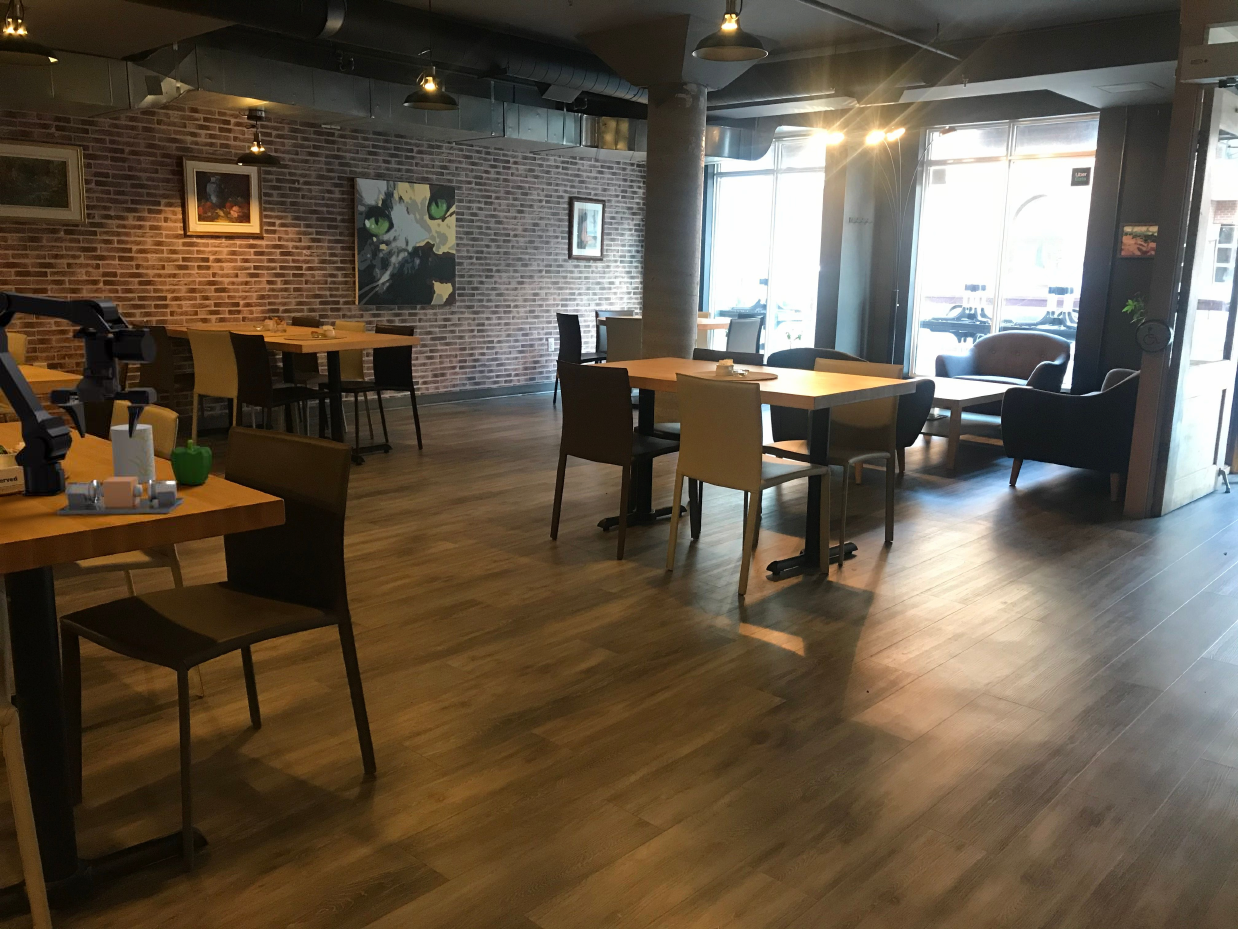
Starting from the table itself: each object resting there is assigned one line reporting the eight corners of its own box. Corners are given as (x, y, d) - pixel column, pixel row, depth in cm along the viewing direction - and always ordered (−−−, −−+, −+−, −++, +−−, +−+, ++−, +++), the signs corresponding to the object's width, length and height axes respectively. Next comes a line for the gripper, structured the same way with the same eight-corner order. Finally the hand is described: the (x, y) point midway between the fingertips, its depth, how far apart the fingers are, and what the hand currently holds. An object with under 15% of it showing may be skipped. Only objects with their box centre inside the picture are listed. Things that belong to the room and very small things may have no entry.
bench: (57, 514, 184) (55, 485, 183) (77, 502, 193) (75, 474, 192) (169, 513, 187) (167, 484, 186) (183, 501, 197) (182, 474, 196)
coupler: (145, 501, 193) (143, 476, 192) (137, 506, 188) (135, 481, 188) (107, 501, 192) (105, 476, 191) (99, 506, 187) (97, 481, 186)
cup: (139, 485, 211) (135, 430, 208) (106, 482, 212) (102, 428, 210) (163, 477, 219) (159, 425, 216) (131, 475, 220) (127, 423, 218)
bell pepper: (179, 479, 217) (176, 435, 215) (217, 479, 218) (214, 435, 216) (165, 487, 209) (162, 441, 207) (205, 487, 210) (202, 442, 208)
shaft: (148, 506, 189) (146, 481, 188) (150, 501, 193) (148, 477, 192) (176, 504, 191) (174, 480, 190) (177, 499, 195) (176, 475, 194)
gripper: (34, 364, 186) (41, 444, 189) (137, 365, 189) (143, 444, 192) (57, 359, 197) (64, 435, 200) (155, 360, 200) (160, 435, 203)
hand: (107, 437), depth 199 cm, fingers open, 9 cm apart
